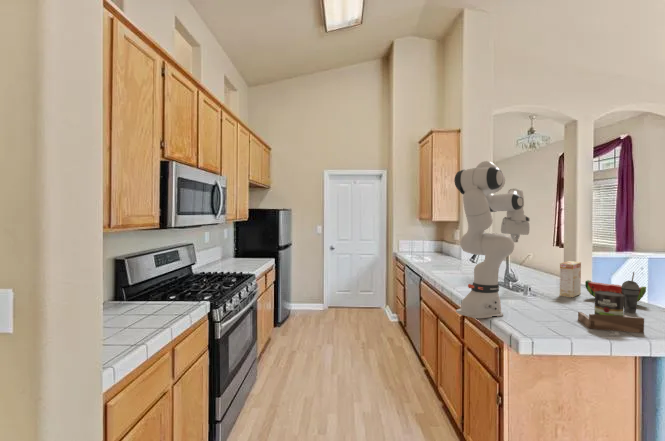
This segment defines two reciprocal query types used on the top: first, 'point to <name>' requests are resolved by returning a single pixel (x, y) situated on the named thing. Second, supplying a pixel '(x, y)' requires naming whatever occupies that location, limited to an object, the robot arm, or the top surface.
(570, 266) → the coffeecake box
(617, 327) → the box
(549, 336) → the top surface
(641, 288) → the fruit slice
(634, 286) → the beverage cup
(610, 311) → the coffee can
